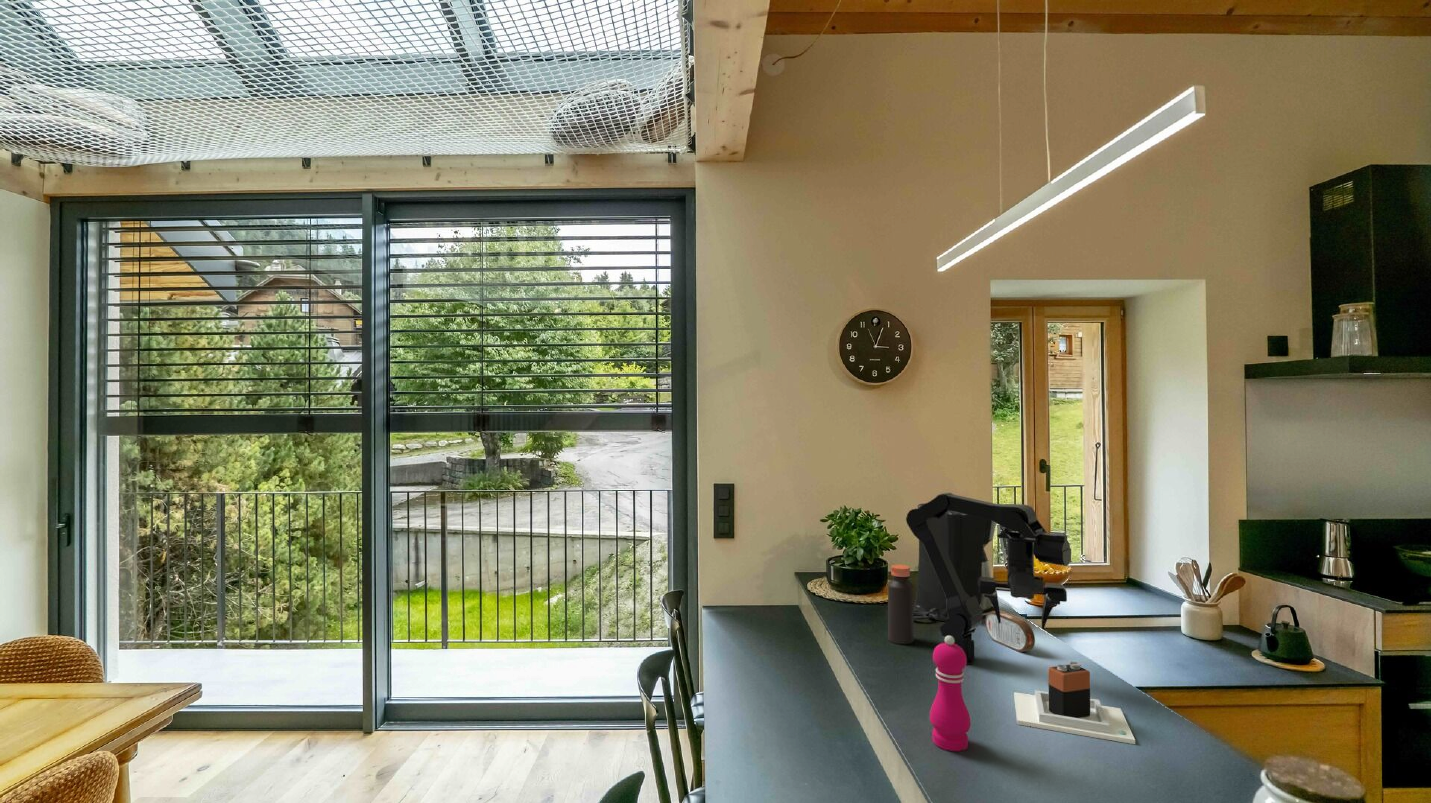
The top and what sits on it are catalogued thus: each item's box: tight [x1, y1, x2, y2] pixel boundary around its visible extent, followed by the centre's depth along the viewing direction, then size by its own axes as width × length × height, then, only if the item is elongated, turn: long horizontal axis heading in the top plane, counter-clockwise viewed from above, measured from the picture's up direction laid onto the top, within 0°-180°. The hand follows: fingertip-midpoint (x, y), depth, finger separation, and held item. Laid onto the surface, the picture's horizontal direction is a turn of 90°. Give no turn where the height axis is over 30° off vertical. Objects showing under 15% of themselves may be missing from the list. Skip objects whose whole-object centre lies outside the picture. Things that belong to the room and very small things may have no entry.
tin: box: [985, 609, 1036, 653], centre depth 171 cm, size 15×3×8 cm, turn 20°
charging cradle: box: [1013, 689, 1136, 745], centre depth 130 cm, size 20×14×2 cm
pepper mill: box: [929, 636, 972, 752], centre depth 121 cm, size 7×7×20 cm
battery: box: [1047, 661, 1091, 718], centre depth 131 cm, size 4×7×10 cm, turn 107°
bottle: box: [887, 564, 915, 645], centre depth 175 cm, size 7×7×20 cm
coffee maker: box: [914, 502, 997, 622], centre depth 199 cm, size 23×32×34 cm
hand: (1020, 625), depth 151 cm, fingers open, 9 cm apart
